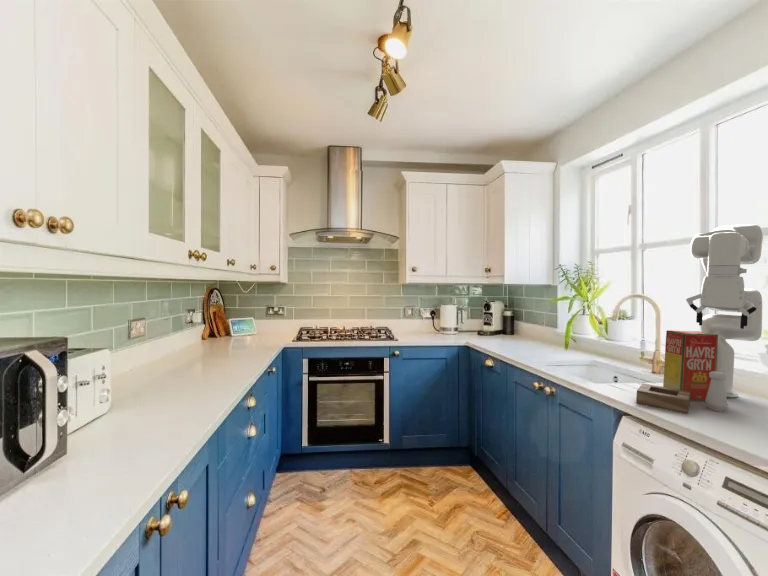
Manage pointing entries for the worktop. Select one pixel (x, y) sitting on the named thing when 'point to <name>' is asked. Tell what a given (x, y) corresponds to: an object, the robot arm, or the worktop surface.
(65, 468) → the worktop surface
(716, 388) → the salt shaker
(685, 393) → the socket block
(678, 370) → the food packaging
